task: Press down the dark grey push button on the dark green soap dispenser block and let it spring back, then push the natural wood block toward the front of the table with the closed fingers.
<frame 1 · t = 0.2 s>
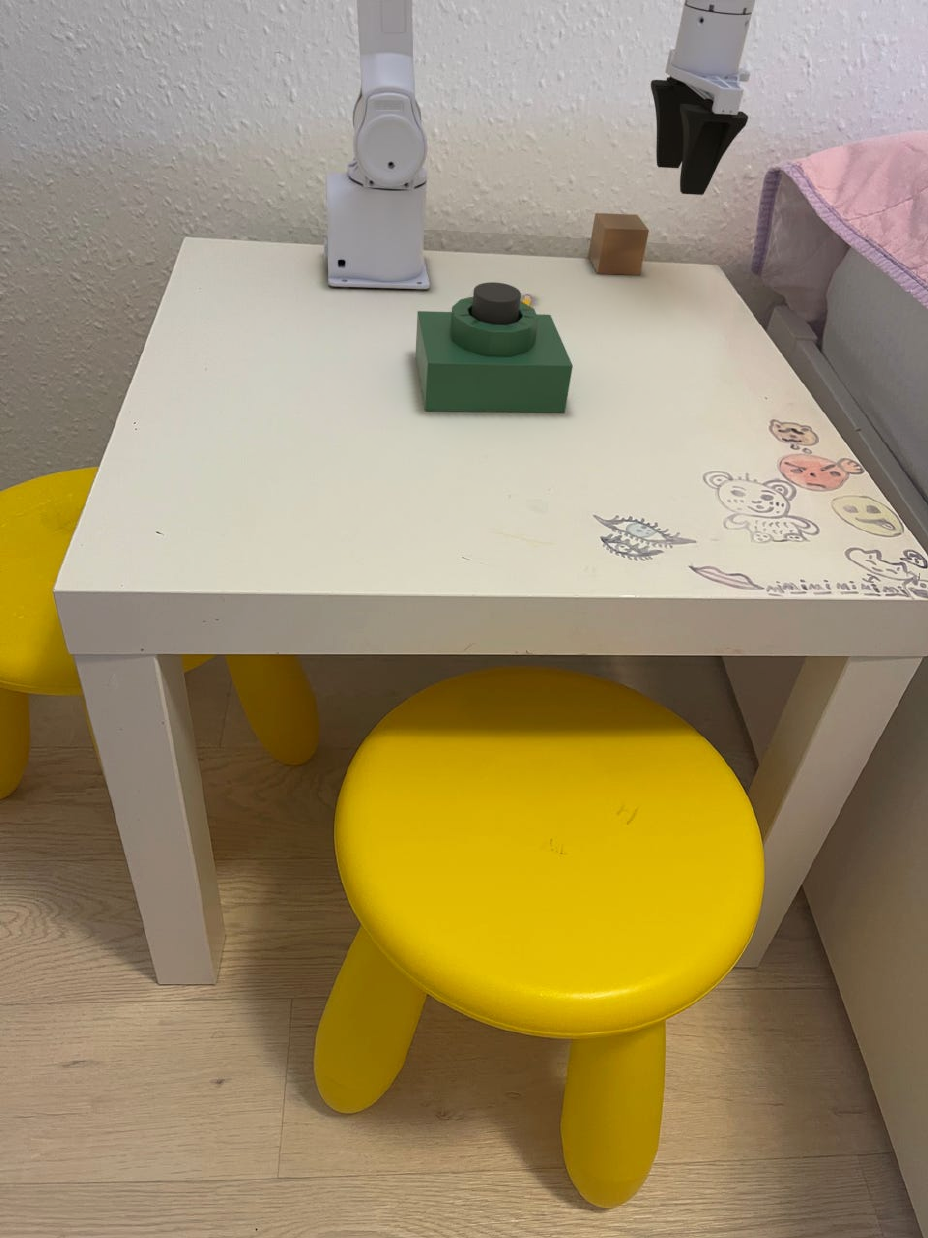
hand: (679, 179, 86), 10 cm above the table, tool pointing down, fingers open, 7 cm apart
block: (613, 265, 96), on the table
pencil: (520, 321, 85), on the table
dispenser: (487, 383, 74), on the table
dark grey push button: (496, 304, 70), point 7 cm above the table, slide at 0.1 cm
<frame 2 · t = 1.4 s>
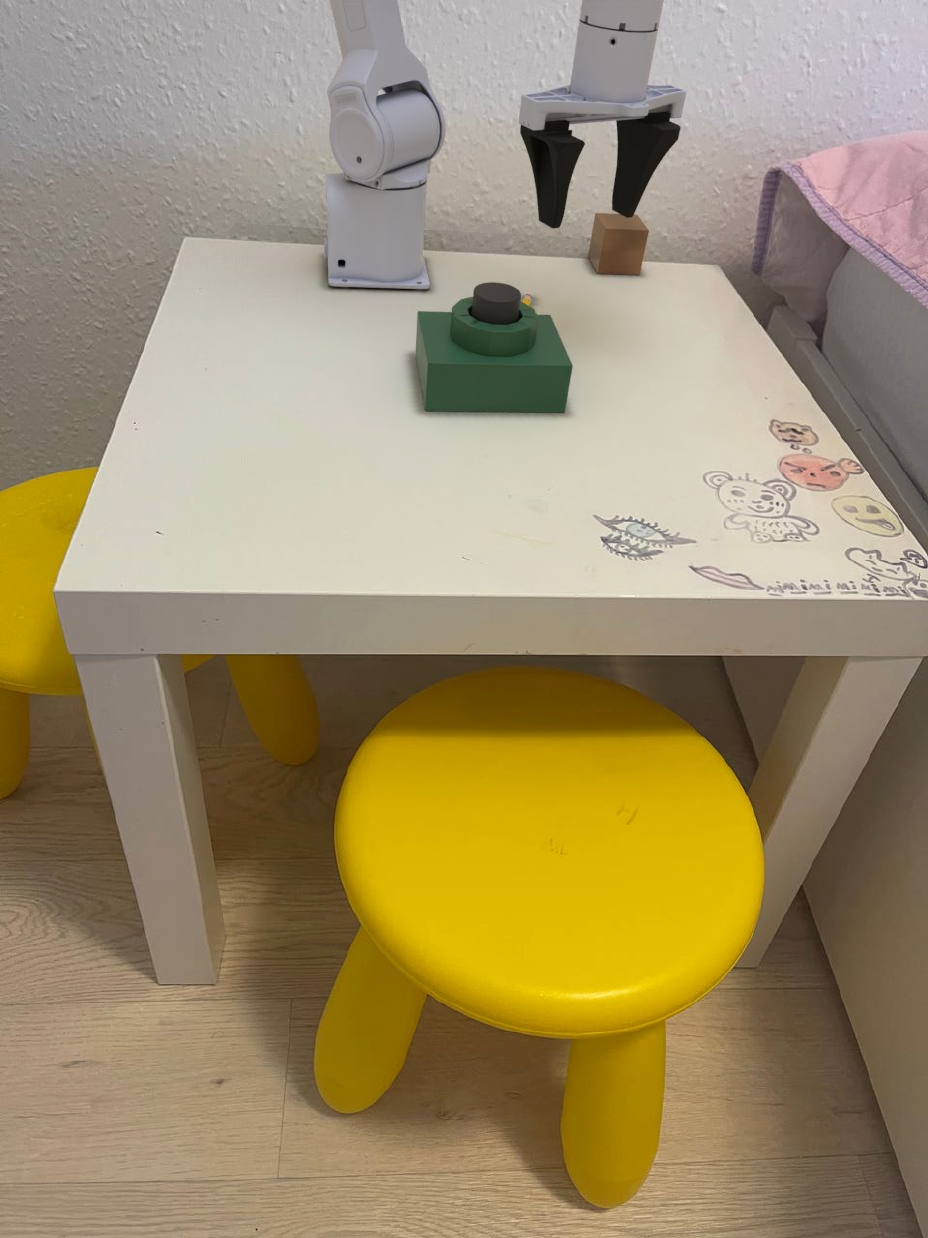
hand: (586, 218, 75), 10 cm above the table, tool pointing down, fingers open, 7 cm apart
nothing on the table moved.
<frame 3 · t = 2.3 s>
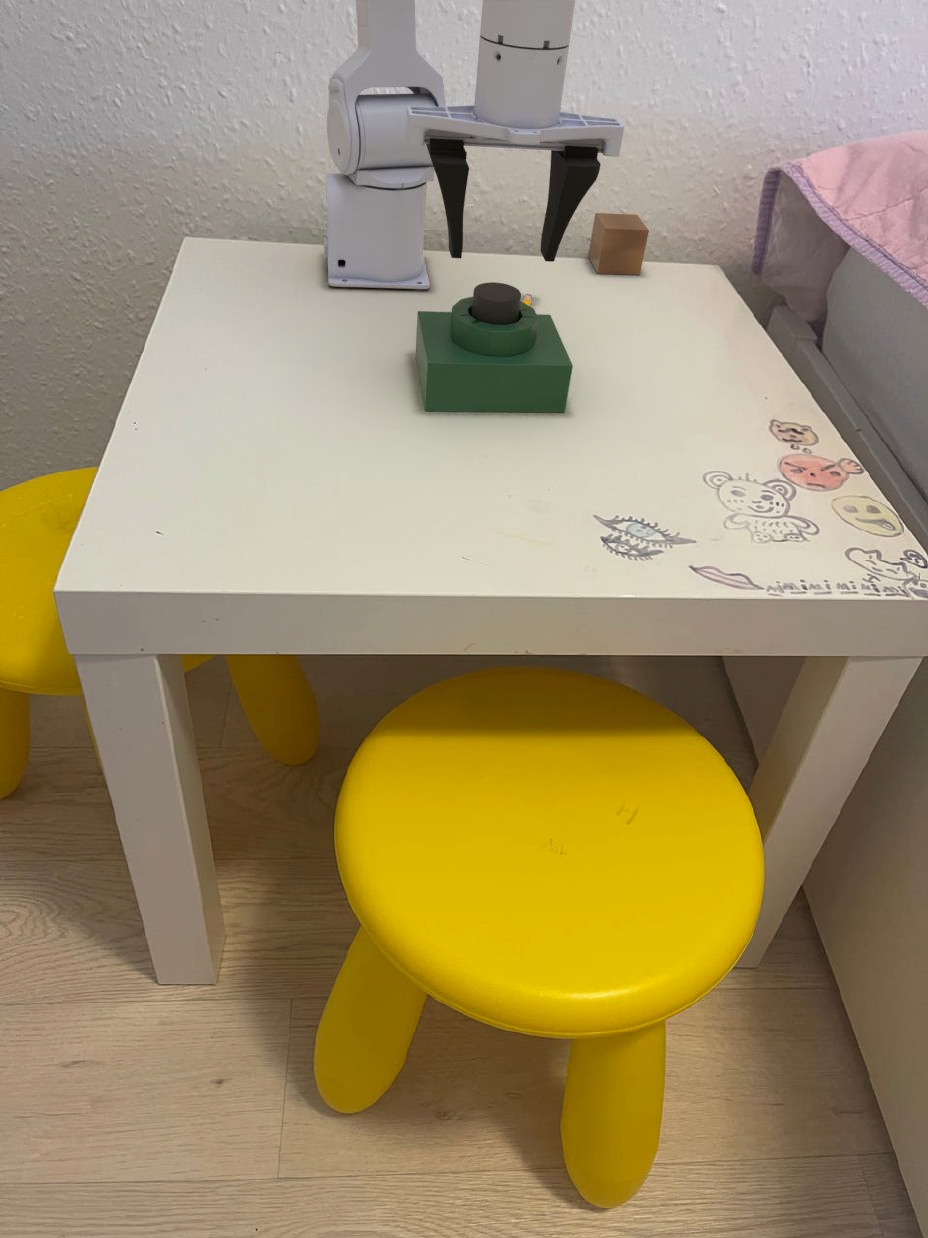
hand: (501, 254, 68), 10 cm above the table, tool pointing down, fingers open, 6 cm apart
nothing on the table moved.
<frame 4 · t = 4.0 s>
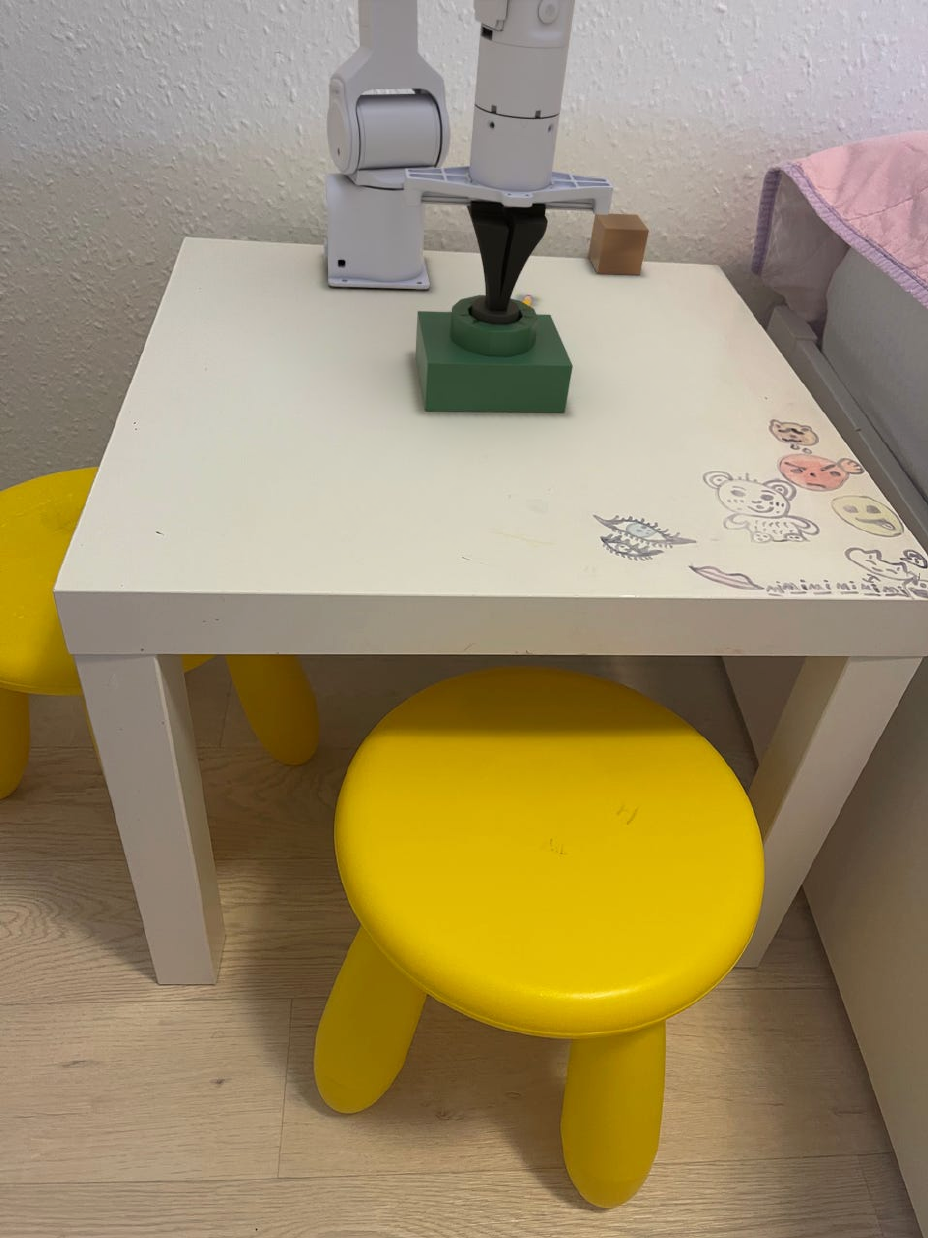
hand: (496, 305, 70), 7 cm above the table, tool pointing down, fingers closed, pressing on dark grey push button
dark grey push button: (494, 318, 71), point 6 cm above the table, slide at -1.0 cm, touching gripper
everything else where it was.
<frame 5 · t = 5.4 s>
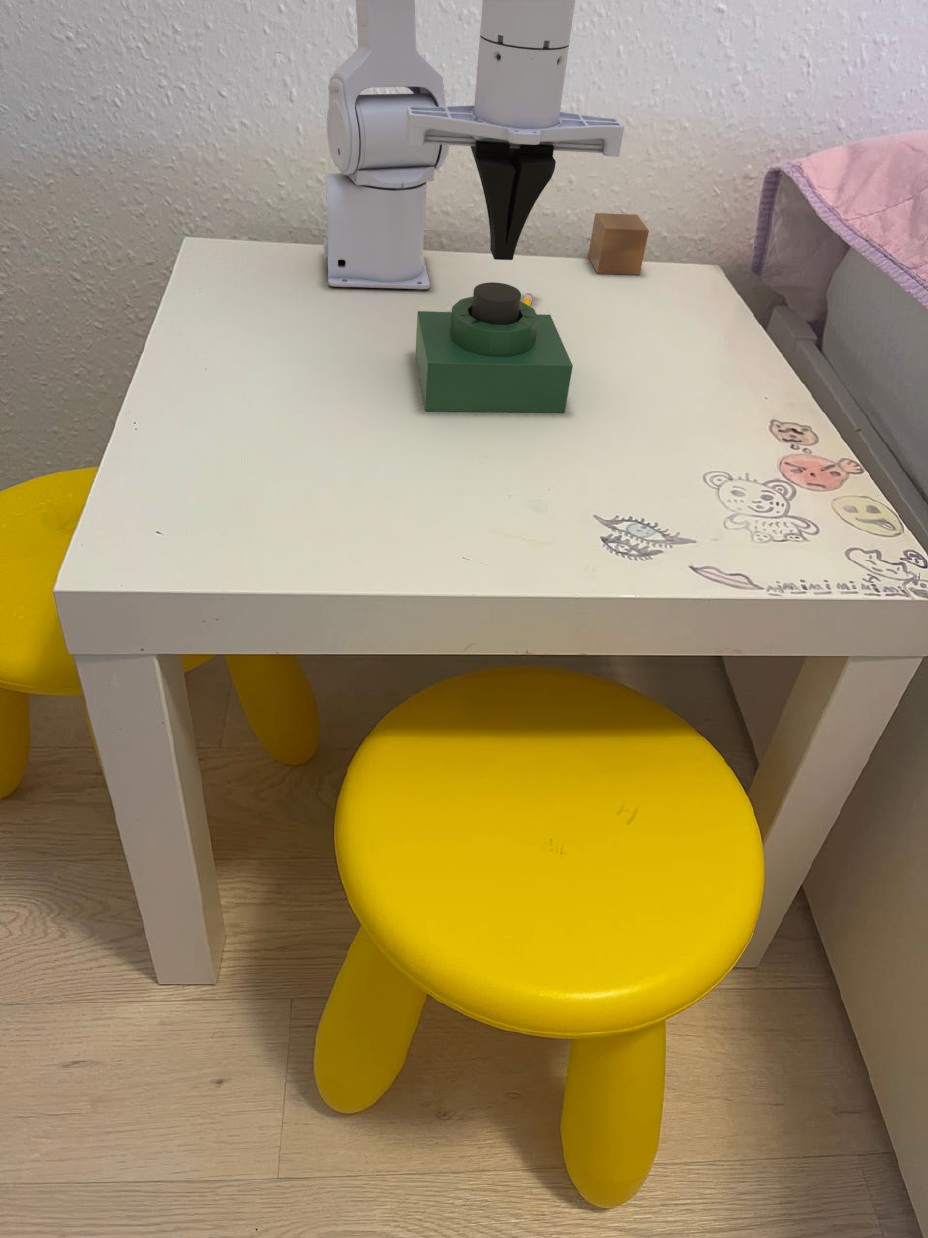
hand: (501, 254, 68), 10 cm above the table, tool pointing down, fingers closed
dark grey push button: (496, 304, 70), point 7 cm above the table, slide at 0.1 cm
everything else where it was.
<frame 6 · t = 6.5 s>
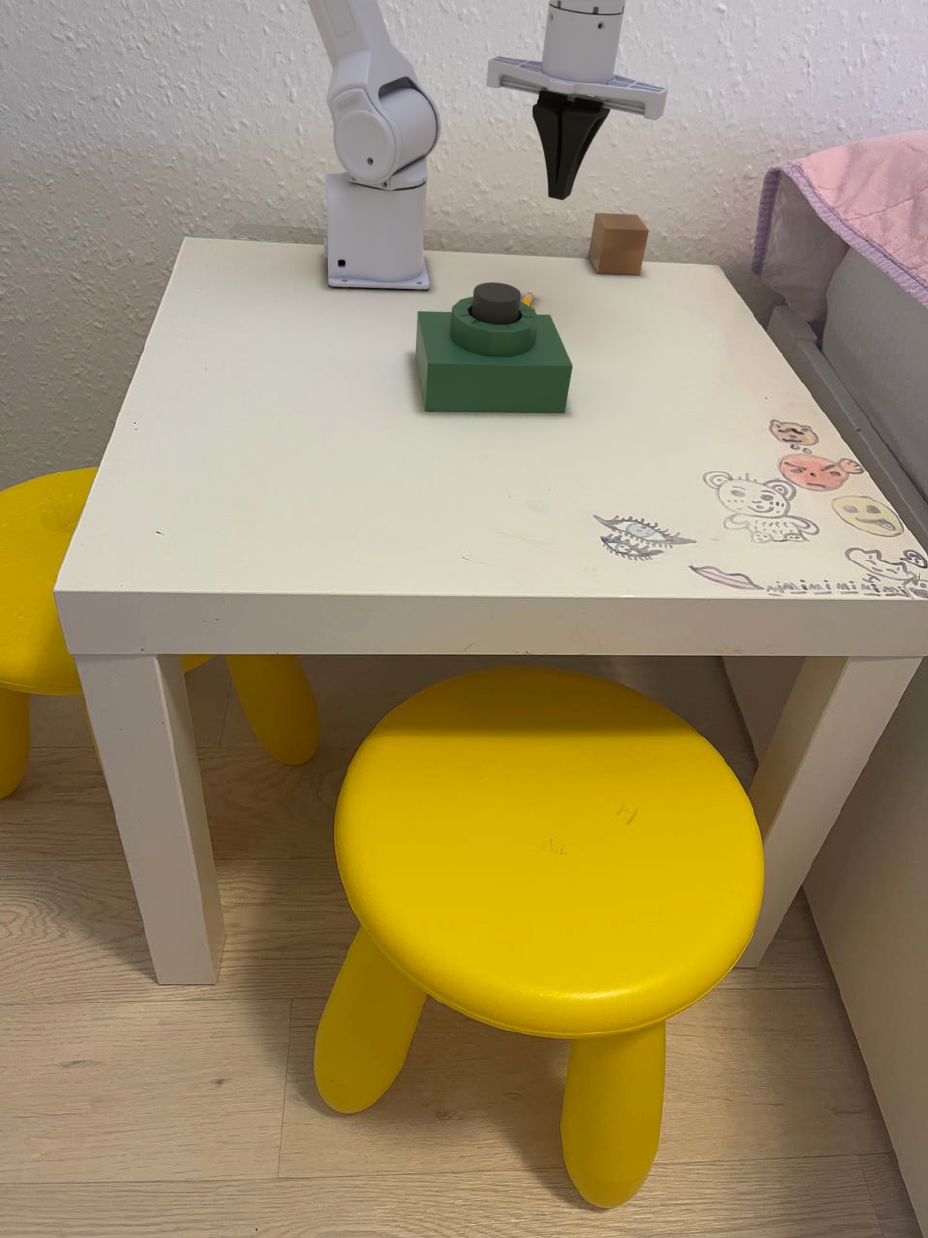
hand: (559, 195, 79), 10 cm above the table, tool pointing down, fingers closed
nothing on the table moved.
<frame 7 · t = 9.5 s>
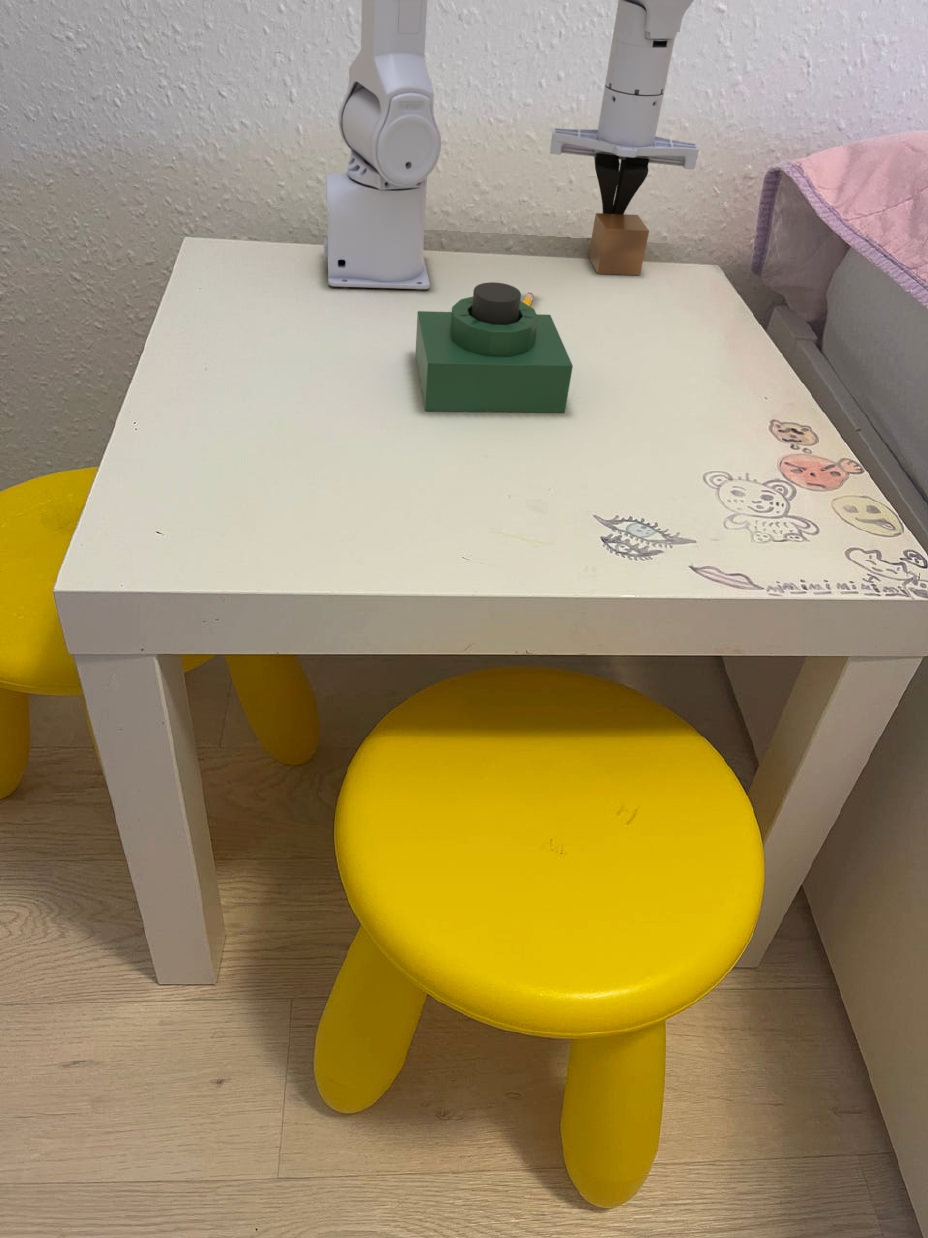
hand: (608, 232, 97), 2 cm above the table, tool pointing down, fingers closed
block: (613, 265, 96), on the table, touching gripper
everything else where it was.
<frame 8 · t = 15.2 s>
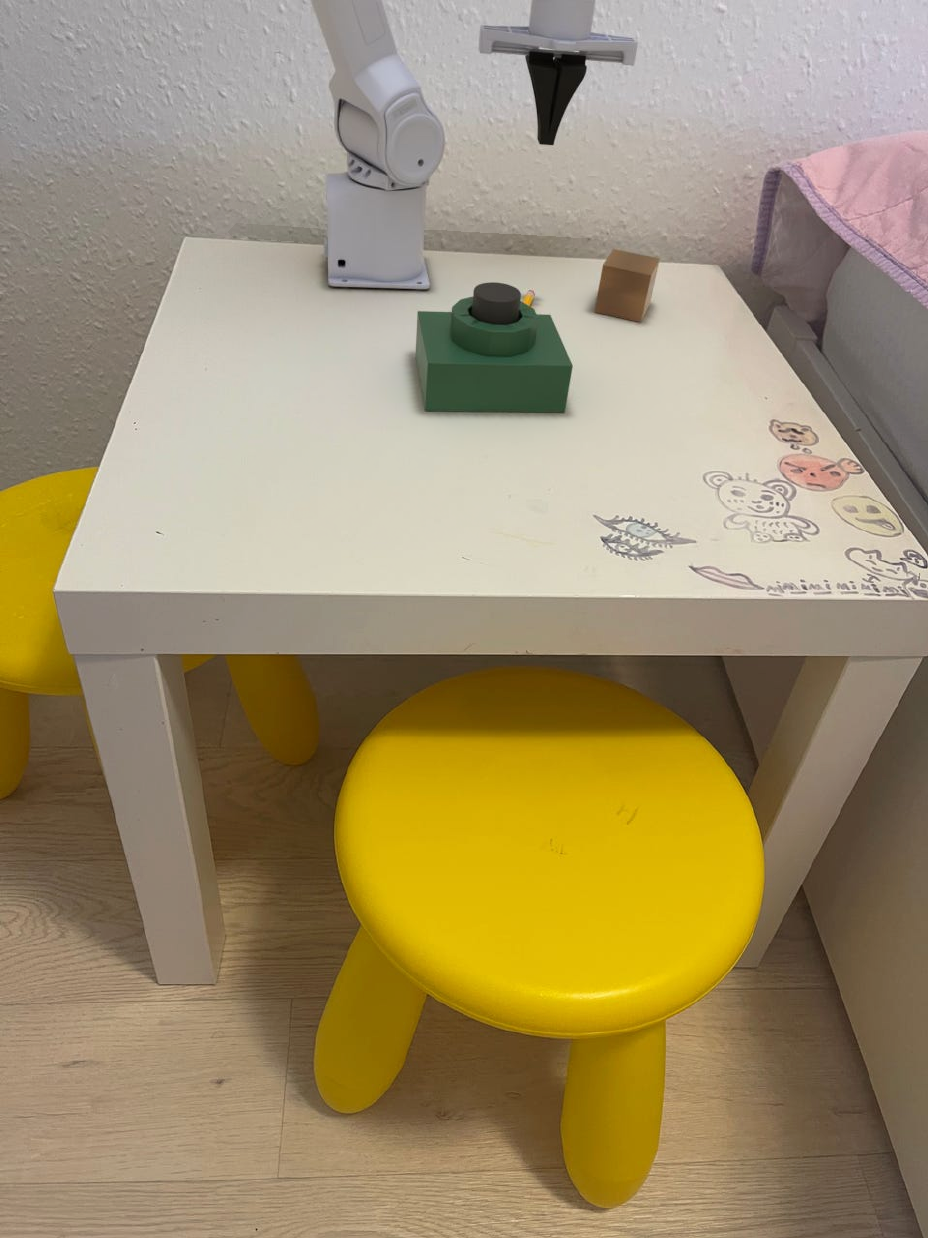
hand: (545, 141, 91), 10 cm above the table, tool pointing down, fingers closed
block: (622, 308, 88), on the table
everything else where it was.
at the end: dark grey push button pushed in 1.4 cm at the most during the clip, back to where it started at the end; dark grey push button slide at 0.1 cm; block inside the target area (2.4 cm from its centre), on the table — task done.
